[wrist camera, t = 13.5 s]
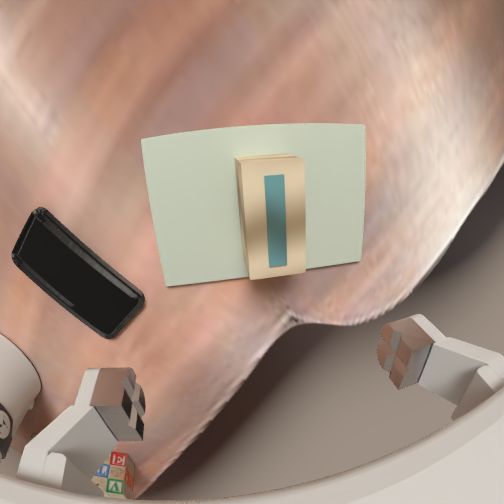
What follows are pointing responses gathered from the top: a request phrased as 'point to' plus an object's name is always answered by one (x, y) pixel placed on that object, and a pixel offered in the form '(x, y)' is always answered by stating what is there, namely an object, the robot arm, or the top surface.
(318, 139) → the rubber mat
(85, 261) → the phone
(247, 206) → the maple block
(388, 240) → the top surface
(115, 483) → the stack of blocks
